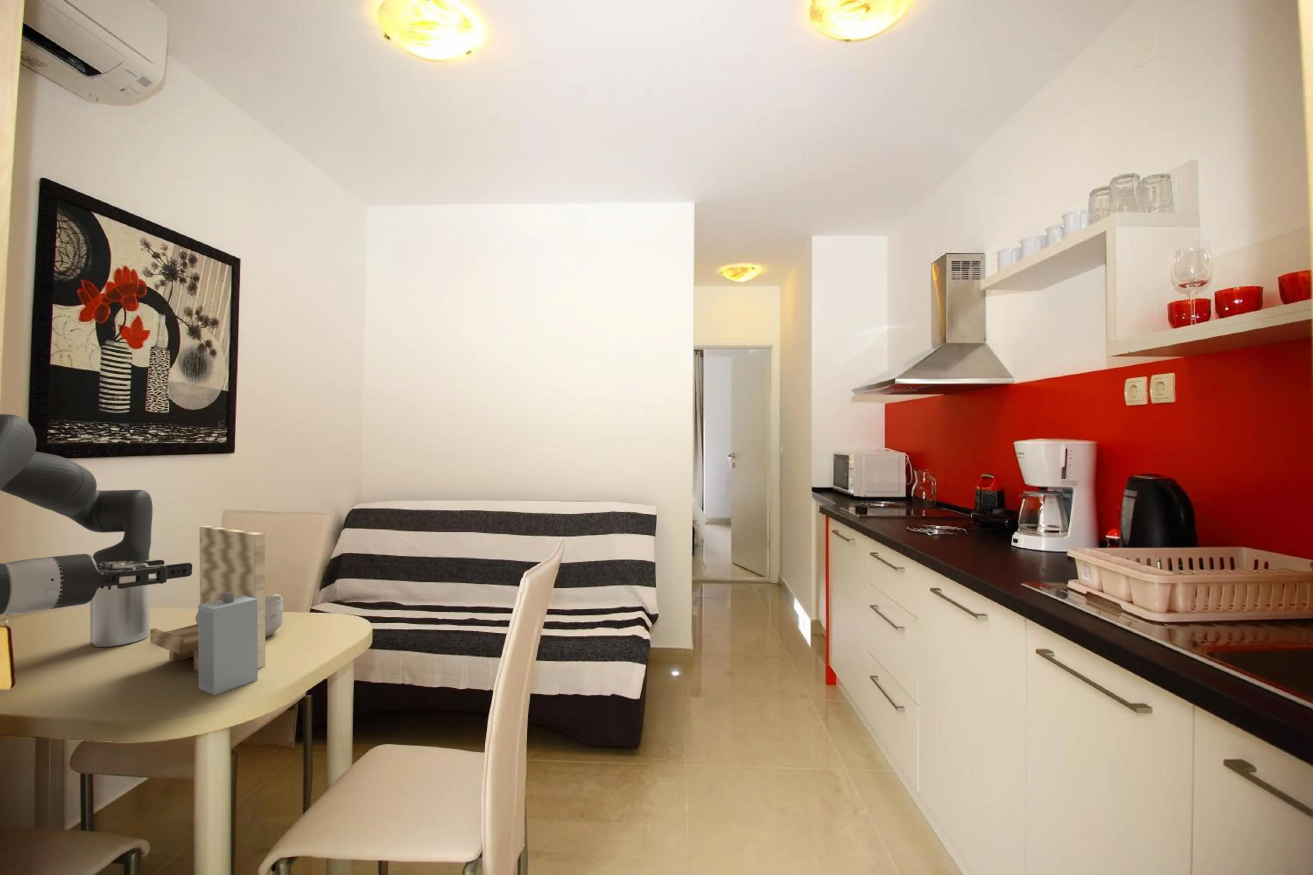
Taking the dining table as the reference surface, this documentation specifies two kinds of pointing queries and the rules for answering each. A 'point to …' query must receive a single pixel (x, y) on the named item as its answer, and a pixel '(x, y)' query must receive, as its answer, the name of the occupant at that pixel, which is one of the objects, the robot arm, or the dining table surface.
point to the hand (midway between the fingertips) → (176, 567)
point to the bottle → (227, 643)
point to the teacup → (273, 613)
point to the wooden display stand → (222, 585)
